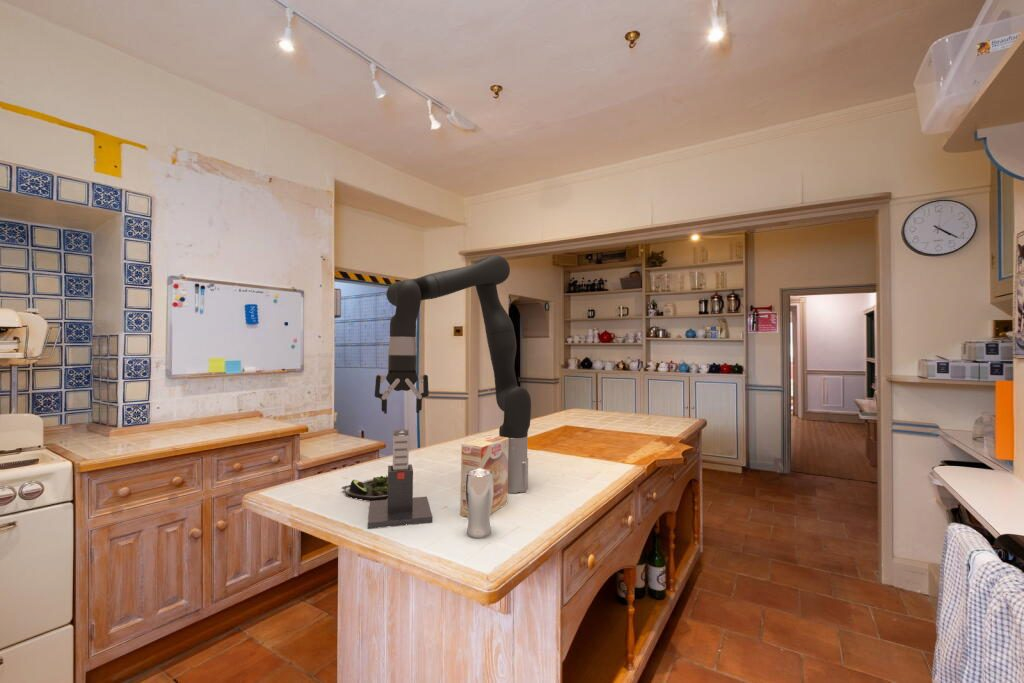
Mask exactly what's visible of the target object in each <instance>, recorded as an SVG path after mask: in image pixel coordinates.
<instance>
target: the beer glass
mask: <svg viewBox="0 0 1024 683" xmlns="http://www.w3.org/2000/svg"><path fill="white" fill-rule="evenodd" d="M493 492H494V483H493V472H492V471H491V470H488V469H472V470H469V471H467V474H466V486H465V495H466V504H467V510H468V517H467V518H468V520H467V528H466V535H467V536H468V537H469V538H473V539H485V538H488V537H489V536H491V534H492V527H491V522H490V521H491V514H490V512H491V507H492V501H493Z"/></svg>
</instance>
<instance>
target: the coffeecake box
mask: <svg viewBox="0 0 1024 683" xmlns="http://www.w3.org/2000/svg"><path fill="white" fill-rule="evenodd" d="M508 448H509V438H507V437H501V436H498V435H492V434H489V435H487V436H483V437H479V438H477V439H474V440H471V441H467V442H464V443H461V455H460V456H461V457H460V460H461V462H460V466H461V468H460V504H459V505H460V508H459V510H460V511H459V514H460V516H464V517H467V518H468V510H467V504H466V495H465V486H466V474H467V471H469V470H472V469H488V470H491V471H492V472H493V483H494V492H493V501H492V507H491V512H490V515H492V514H493V513H495V512H496V511H497V509H498V510H499V509H501V508H502V507H501V506H503V505H504V506H506V505H507V504H508V499H509V498H508V494H509V493H508ZM506 503H507V504H506ZM505 504H506V505H505ZM504 506H503V507H504ZM500 507H501V508H500ZM492 512H493V513H492Z"/></svg>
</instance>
